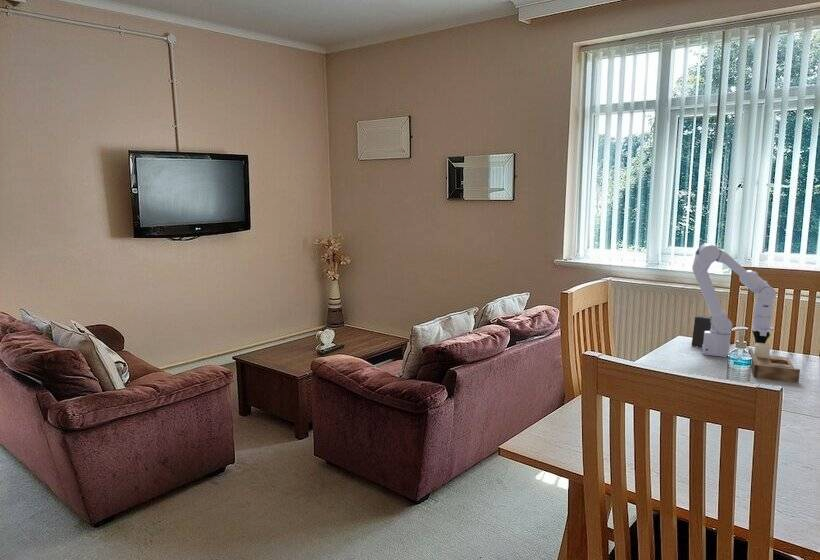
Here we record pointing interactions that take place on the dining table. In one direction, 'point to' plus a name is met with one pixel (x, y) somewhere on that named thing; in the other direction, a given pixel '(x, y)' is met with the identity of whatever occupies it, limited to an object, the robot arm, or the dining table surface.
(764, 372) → the trap board
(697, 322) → the phone stand
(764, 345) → the cream block
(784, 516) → the dining table surface
